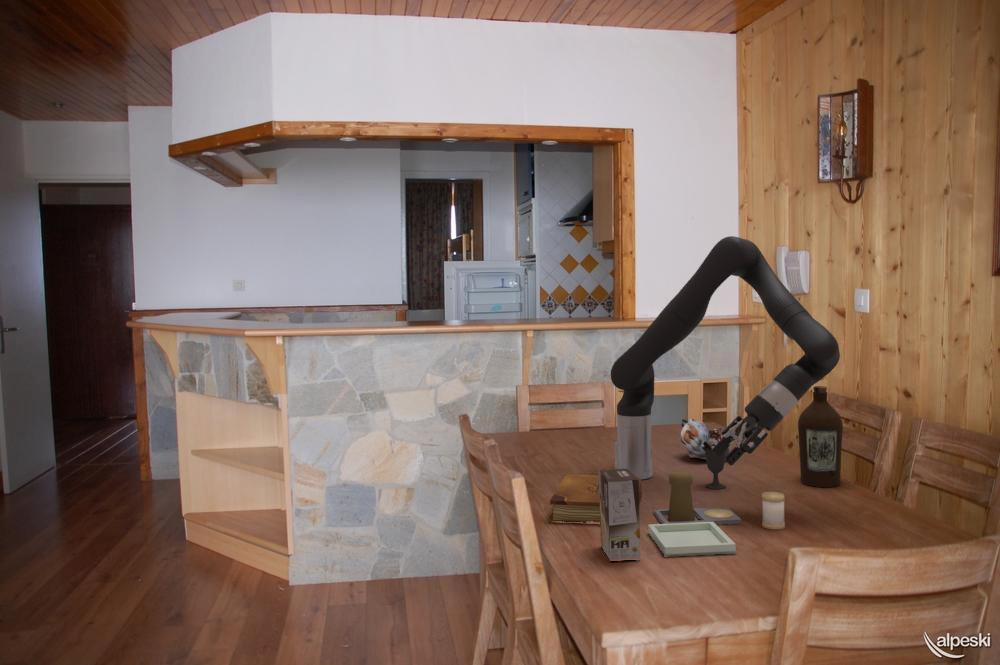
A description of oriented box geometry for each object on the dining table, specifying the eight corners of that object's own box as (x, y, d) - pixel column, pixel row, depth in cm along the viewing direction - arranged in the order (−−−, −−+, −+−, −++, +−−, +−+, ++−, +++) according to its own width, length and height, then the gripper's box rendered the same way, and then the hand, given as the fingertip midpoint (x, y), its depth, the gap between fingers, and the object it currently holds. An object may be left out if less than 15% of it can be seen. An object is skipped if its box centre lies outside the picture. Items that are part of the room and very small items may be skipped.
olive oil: (796, 476, 206) (796, 383, 204) (840, 478, 203) (840, 384, 201) (799, 487, 196) (799, 389, 194) (845, 489, 193) (845, 390, 191)
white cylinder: (758, 526, 167) (757, 494, 167) (768, 521, 170) (768, 490, 170) (778, 531, 164) (777, 498, 163) (788, 526, 167) (788, 494, 167)
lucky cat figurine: (734, 463, 221) (714, 424, 218) (695, 478, 225) (674, 439, 222) (729, 438, 235) (710, 400, 232) (692, 452, 239) (672, 415, 235)
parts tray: (648, 533, 165) (648, 524, 165) (713, 530, 166) (713, 521, 165) (665, 557, 151) (664, 547, 151) (735, 554, 152) (735, 544, 151)
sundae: (731, 484, 201) (730, 427, 200) (727, 491, 195) (726, 432, 194) (705, 482, 204) (704, 425, 202) (700, 488, 198) (699, 430, 196)
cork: (695, 524, 170) (695, 475, 169) (667, 523, 171) (666, 475, 170) (694, 516, 176) (693, 468, 175) (667, 515, 177) (666, 468, 176)
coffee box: (641, 560, 150) (640, 479, 149) (609, 562, 149) (607, 481, 148) (629, 544, 159) (628, 467, 158) (599, 546, 158) (597, 469, 157)
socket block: (665, 528, 168) (664, 522, 168) (653, 514, 178) (653, 509, 178) (742, 524, 169) (741, 519, 169) (726, 510, 179) (726, 505, 179)
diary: (634, 529, 170) (633, 504, 169) (550, 525, 175) (549, 500, 174) (641, 498, 192) (641, 476, 192) (567, 495, 197) (566, 473, 196)
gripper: (747, 389, 179) (699, 440, 180) (771, 399, 165) (719, 454, 165) (770, 411, 180) (722, 461, 180) (796, 422, 166) (744, 477, 166)
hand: (721, 458), depth 173 cm, fingers open, 8 cm apart
